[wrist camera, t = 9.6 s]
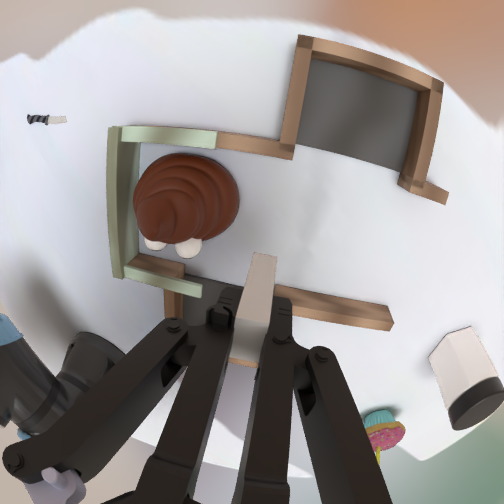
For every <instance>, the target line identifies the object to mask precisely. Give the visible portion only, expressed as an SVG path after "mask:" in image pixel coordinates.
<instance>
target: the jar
mask: <svg viewBox="0 0 504 504" xmlns="http://www.w3.org/2000/svg"><path fill="white" fill-rule="evenodd" d="M428 358H429V361H430V364H431V366H432V369H433V372H434V374H435V377H436V380H437V383H438V386H439V388H440V391H441V394H442V397H443V401H444V404H445V407H446V409H447V410H448V415H449V418H450V422H451V425H452V428H453V429H454V430H463V429H467V428H469V427H472V426H474V425H476V424H477V423H479V422H481V421H482V420H484V419H485V418H487V417H488V416H489V415H491V414H492V413H493V412H494V411H495V410H496V409H497V408H498V407H499V406H500V405H501V404H502V402H503V401H504V387H503V385H502V383H501V381H500V379H499V378H498V373H497V371H496V369H495V367H494V365H493V363H492V361H491V359H490V357H489V355H488V353H487V352H486V350H485V348H484V346H483V344H482V343H481V341H480V339H479V338H478V336H477V334H476V332H475V331H474V329H473V328H472V327H468V328H465V329H462V330H459V331H456V332H453V333H449V334H447V335H446V336H445V337H444V338H443V340H442V341H441V342H440V343H439V345H438V346H437V347H436V348H435V350H434V351H433V352H432V353H431V354H430V356H429V357H428Z"/></svg>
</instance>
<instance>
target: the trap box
mask: <svg viewBox="0 0 504 504" xmlns="http://www.w3.org/2000/svg"><path fill="white" fill-rule="evenodd" d="M443 86H444V83H443V82H441V81H440V80H438V79H436V78H434V77H431V76H429V75H427V74H425V73H423V72H421V71H419V70H416V69H414V68H412V67H409V66H407V65H405V64H402V63H400V62H397V61H395V60H392V59H389V58H387V57H384V56H381V55H378V54H375V53H372V52H369V51H366V50H363V49H359V48H356V47H353V46H349V45H345V44H341V43H338V42H334V41H329V40H325V39H320V38H316V37H310V36H305V35H299V34H298V39H297V45H296V51H295V57H294V63H293V68H292V74H291V80H290V86H289V91H288V97H287V103H286V108H285V114H284V120H283V125H282V131H281V136H280V140H275V139H269V138H263V137H257V136H251V135H244V134H237V133H230V132H222V131H213V130H204V129H193V128H180V127H165V126H137V125H131V126H112V127H110V128H108V139H107V167H106V190H107V218H108V233H109V245H110V255H111V264H112V272H113V277H115V278H119V279H123V278H124V277H125V278H128V279H132V280H135V281H138V282H142V283H145V284H149V285H152V286H156V287H160V288H163V289H164V308H165V319H166V318H170V317H177V318H181V319H183V320H184V321H186V323H187V325H188V326H199V325H203V324H205V323H206V310H207V309H208V307H210V306H212V305H215V304H216V303H217V301H218V298H219V296H220V293H221V291H222V290H223V289H225V288H226V287H232V288H236V289H241V290H244V287H241V286H236V285H232V284H227V283H223V282H218V281H214V280H210V279H206V278H201V277H197V276H193V275H189V274H185V273H184V271H185V264H182V263H178V262H174V261H169V260H165V259H161V258H157V257H153V256H149V255H145V254H141V253H139V242H138V224H137V219H136V216H135V212H134V208H133V194H134V190H135V187H136V185H137V183H138V175H139V155H140V142H144V143H159V144H171V145H182V146H191V147H200V148H208V149H216V148H223V149H230V150H236V151H243V152H249V153H255V154H261V155H267V156H272V157H277V158H282V159H287V160H292V159H293V154H294V149H295V144H299V145H304V146H308V147H313V148H317V149H322V150H326V151H330V152H334V153H338V154H342V155H345V156H349V157H353V158H356V159H360V160H363V161H367V162H370V163H373V164H377V165H380V166H383V167H386V168H389V169H392V170H395V171H398V172H401V173H400V177H399V180H398V185H399V186H401V187H402V188H404V189H405V190H407V191H408V192H410V193H413V194H416V195H419V196H422V197H425V198H427V199H430V200H433V201H436V202H438V203H441V204H443V205H445V204H446V201H447V198H448V195H449V192H447V191H445V190H444V189H442V188H440V187H438V186H436V185H434V184H431V183H429V182H426V181H425V180H426V176H427V172H428V168H429V164H430V160H431V156H432V152H433V147H434V142H435V138H436V132H437V127H438V121H439V115H440V109H441V102H442V94H443ZM273 295H274V296H279V297H284V298H289V299H290V301H291V303H292V304H293V306H292V315H294V316H299V317H304V318H309V319H315V320H320V321H326V322H332V323H338V324H344V325H350V326H356V327H362V328H369V329H376V330H383V331H390V330H391V328H392V326H393V324H394V321H393V319H392V316H391V313H390V311H389V308H388V306H385V305H379V304H373V303H368V302H362V301H357V300H352V299H346V298H341V297H336V296H331V295H326V294H320V293H315V292H310V291H305V290H300V289H296V288H291V287H286V286H281V285H276V287H275V291H274V294H273ZM228 362H231V363H235V364H239V365H243V366H248V367H252V368H258V365H259V363H256V362H251V361H246V360H241V359H237V358H232V357H229V360H228Z"/></svg>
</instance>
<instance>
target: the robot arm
mask: <svg viewBox="0 0 504 504" xmlns="http://www.w3.org/2000/svg"><path fill="white" fill-rule="evenodd" d="M276 263H277V257H275V256H270V255H265V254H260V253H255V252H254V255H253V258H252V262H251V265H250V269H249V272H248V276H247V279H246V283H245V286H244V290H241V289H236V288H232V287H226V288H225V289H223V290H222V291H221V293H220V296H219V298H218V301H217V303H216V304H215V305H212V306H210V307H208V309H207V310H206V323H205V324H203V325H199V326H188V325H187V323H186V321H184V320H183V319H181V318H177V317H170V318H166V319H164V320H163V321H161V322H160V323H159V324H158V325H157V326H156V327H155V328H154V329H153V330H152V331H151V332H150V333H149V334H147V335H146V336H145V337H144V338H143V339H142V340H141V341H140V342H139V343H138V344H137V345H136V346H135V347H134V348H133V349H132V350H130V351H129V352H128V353H127V354H126V355H124V354H123V353H122V352H121V351H120V350H119V349H117V348H116V347H115V346H114V345H112V344H111V343H109V342H108V341H106V340H104V339H103V338H101V337H99V336H97V335H94V334H91V333H87V332H81V333H78V334H77V335H76V336H75V337H74V339H73V340H72V341H71V342H70V344H69V347H68V350H67V353H66V356H65V359H64V362H63V365H62V368H61V371H60V372H59V373H58V375H57V376H56V377H55V376H54V375H53V374H52V373H51V372H50V370H49V369H48V368H47V367H46V366H45V365H44V363H43V362H42V361H41V360H40V359H39V357H38V356H37V355H36V354H35V352H34V351H33V350H32V349H31V347H30V346H29V345H28V343H27V342H26V341H25V339H24V338H23V334H22V333H20V332H19V331H18V330H17V328H16V327H15V326H14V324H13V323H12V322H11V320H10V319H9V318H8V317H7V316H6V315H4V314H1V313H0V428H5V427H6V425H7V424H8V423H9V421H10V420H11V421H13V422H14V423H15V424H16V425H17V426H18V427H19V428H18V433H17V435H18V437H19V438H20V439H22V440H23V441H20V442H17V443H14V444H12V445H9V446H8V447H6V449H5V450H4V452H3V457H2V460H3V464H4V466H5V468H6V470H7V471H8V472H9V473H10V474H11V475H12V476H14V477H16V478H18V479H19V480H21V481H22V482H23V483H24V485H25V487H26V489H27V491H28V493H29V495H30V497H31V498H32V500H33V502H34V504H78V503H79V502H80V501H82V500H83V499H84V497H85V495H86V488H85V485H84V483H86V482H88V481H89V480H91V479H92V478H93V477H95V476H96V475H97V474H98V473H99V472H100V471H101V470H102V469H103V468H104V467H105V466H106V465H107V463H108V462H109V461H110V460H111V459H112V457H113V456H114V455H115V454H116V452H118V450H119V449H120V448H121V447H122V446H123V445H124V443H125V442H126V441H127V440H128V439H129V437H130V436H131V435H132V434H133V433H134V432H135V430H136V429H137V428H138V427H139V426H140V424H141V423H142V422H143V421H144V420H145V418H146V417H147V416H148V415H149V413H150V412H151V411H152V410H153V409H154V407H155V406H156V405H157V404H158V403H159V401H160V400H161V399H162V398H163V396H164V395H165V394H166V393H167V391H168V390H169V389H170V388H171V387H172V385H173V384H174V383H175V382H176V380H177V379H178V378H179V377H180V375H181V374H182V373H183V372H184V370H185V369H186V367H187V366H188V368H187V370H186V373H185V376H184V378H183V380H182V383H181V385H180V388H179V390H178V393H177V395H176V398H175V400H174V403H173V406H172V408H171V411H170V413H169V416H168V418H167V421H166V424H165V426H164V429H163V431H162V434H161V437H160V439H159V442H158V444H157V447H156V450H155V452H154V453H153V455H151V456H150V457H149V458H148V460H147V462H146V464H145V466H144V469H143V471H142V474H141V477H140V479H139V482H138V484H137V487H136V490H135V491H130V492H127V493H124V494H122V495H120V496H118V497H115V498H113V499H111V500H109V501H106V502H104V503H101V504H201V503H199V502H196V501H194V500H193V496H194V492H195V487H196V482H197V478H198V474H199V471H200V467H201V463H202V460H203V456H204V452H205V449H206V445H207V441H208V437H209V434H210V430H211V426H212V423H213V419H214V415H215V411H216V408H217V404H218V400H219V396H220V393H221V389H222V385H223V381H224V377H225V373H226V370H227V366H228V360H229V357H232V358H237V359H241V360H246V361H251V362H256V363H259V365H258V368H257V372H256V376H255V379H254V380H255V384H254V391H253V396H252V402H251V408H250V413H249V419H248V424H247V430H246V436H245V441H244V446H243V452H242V457H241V462H240V467H239V472H238V477H237V483H236V487H235V492H234V495H233V498H232V503H231V504H289V498H290V487H289V485H288V483H287V471H288V459H289V447H290V431H291V416H292V397H293V390H294V394H295V398H296V402H297V406H298V410H299V413H300V417H301V421H302V425H303V429H304V433H305V437H306V441H307V445H308V449H309V453H310V457H311V461H312V465H313V469H314V473H315V477H316V481H317V485H318V489H319V493H320V497H321V501H322V504H393V503H392V501H391V498H390V495H389V492H388V489H387V486H386V484H385V480H384V478H383V475H382V472H381V469H380V467H379V464H378V461H377V458H376V456H375V453H374V450H373V448H372V445H371V442H370V440H369V437H368V435H367V432H366V430H365V427H364V424H363V422H362V419H361V417H360V414H359V412H358V409H357V407H356V404H355V402H354V399H353V397H352V394H351V392H350V390H349V387H348V385H347V382H346V380H345V377H344V375H343V373H342V370H341V368H340V366H339V363H338V361H337V359H336V356H335V354H334V353H333V352H332V351H331V350H330V349H329V348H326V347H324V346H315V347H313V348H311V349H310V350H309V349H306V348H304V347H302V346H300V345H299V344H297V343H296V342H295V341H294V338H293V336H292V306H293V304H292V303H291V301H290V299H289V298H284V297H279V296H274V295H273V289H274V281H275V272H276Z"/></svg>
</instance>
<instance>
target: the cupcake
mask: <svg viewBox="0 0 504 504" xmlns="http://www.w3.org/2000/svg"><path fill="white" fill-rule="evenodd" d="M364 427H365V430H366V432H367V435H368V437H369V440H370V442H371V445H372V448H373V450H374V451H375V452H376V458H377V461H378V464H379V463H380V451H382V450H386V449H389V448H392V447H393V446H395V445H396V444H397V443H398V442H400V440H401V439H402V438H403V436H404V434H405V427H404V426H403V424H401V423H400V422H399V421H395V419H394V418H393V416H392V414H391V413H390V411H388V410H379V411H375V412H372V413H370V414H369V415H368V416H367V417H366V418H365V422H364Z"/></svg>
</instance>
